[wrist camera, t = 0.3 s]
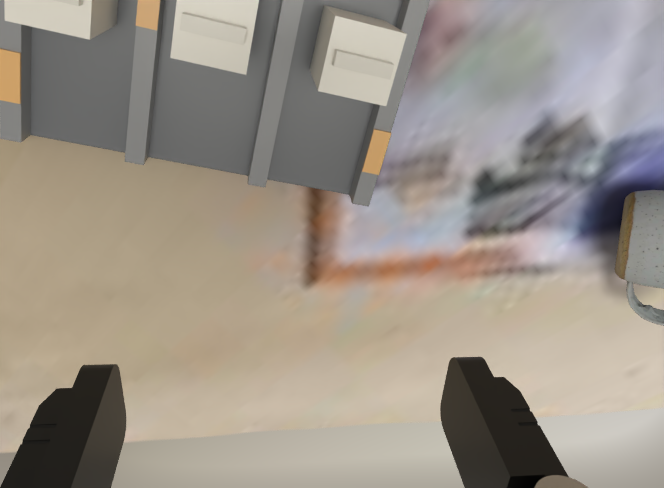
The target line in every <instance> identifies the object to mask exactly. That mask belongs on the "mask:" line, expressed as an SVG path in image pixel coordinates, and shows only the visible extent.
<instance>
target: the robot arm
mask: <svg viewBox="0 0 664 488" xmlns="http://www.w3.org/2000/svg"><path fill="white" fill-rule="evenodd" d="M440 411H441V421H442V426H443V429H444V432H445V435H446V438H447V440H448V443H449V446H450V449H451V451H452V454H453V457H454V459H455V462H456V465H457V468H458V470H459V473H460V476H461V478H462V481H463V484H464V487H465V488H588V487H587V486H585V485H584V484H582V483H580V482H579V481H577V480H575V479H572V478H569V477H568V475H567V473H566V472H565V470H564V468H563V466H562V464H561V463H560V461H559V459H558V457H557V456H556V454H555V452H554V450H553V449H552V447H551V445H550V443H549V441H548V440H547V438H546V436H545V435H544V433H543V431H542V429H541V427H540V426H539V425H538V424H537V420H536V418H535V417H534V415H533V413H532V412H530V408H529V406H528V404H527V403H526V401H525V399H524V397H523V396H522V394H521V392H520V391H519V390H518V389H517V388H516V387H515V386H513V385H512V384H511V383H510V382H509V381H508V380H507V379H506V378H504V377H493V375H492V373H491V371H490V369H489V367H488V365H487V363H486V361H485V360H484V359H483V358H482V357H454V358H451V360H450V362H449V366H448V371H447V375H446V380H445V385H444V390H443V395H442V400H441V409H440ZM125 431H126V410H125V403H124V397H123V390H122V384H121V377H120V371H119V367H118V365H116V364H110V365H83V366H82V367H81V369H80V371H79V373H78V375H77V378H76V380H75V382H74V385H73V387H72V388H60V389H56V390H55V391H54V392H53V393H52V394H51V395H50V396H49V397H48V398H47V399H46V400H45V401H43V402H42V403H41V404H40V405H39V407H38V409H37V411H36V413H35V416H34V418H33V420H32V422H31V424H30V429H28V430H27V432H26V434H25V437H24V439H23V443H22V445H20V447H19V449H18V451H17V454H16V455H15V458H14V460H13V462H12V464H11V466H10V468H9V470H8V472H7V474H6V476H5V479H4V481H3V483H2V485H1V487H0V488H111V485H112V481H113V478H114V474H115V470H116V467H117V463H118V460H119V456H120V452H121V449H122V445H123V442H124V437H125Z"/></svg>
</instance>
